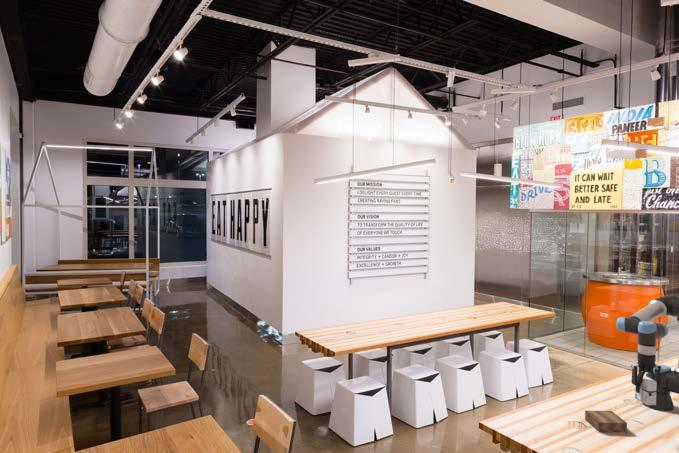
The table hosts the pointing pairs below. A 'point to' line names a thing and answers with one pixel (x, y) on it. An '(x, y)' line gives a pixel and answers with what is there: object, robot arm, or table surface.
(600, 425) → the walnut pedestal
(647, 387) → the ink box
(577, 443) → the table surface
